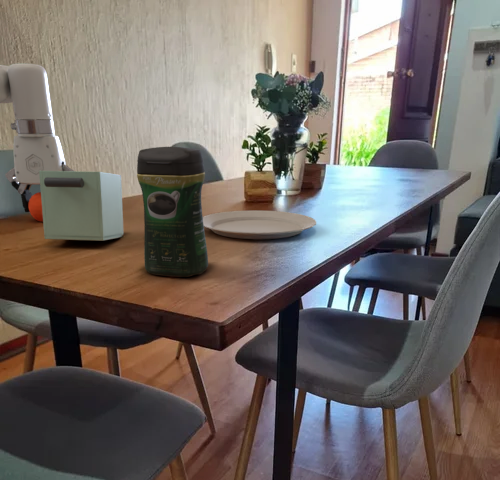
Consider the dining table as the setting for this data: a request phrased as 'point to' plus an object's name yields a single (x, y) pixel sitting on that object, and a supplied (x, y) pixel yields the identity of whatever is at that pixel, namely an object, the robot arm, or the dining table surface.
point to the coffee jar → (173, 210)
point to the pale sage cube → (81, 205)
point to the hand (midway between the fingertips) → (47, 211)
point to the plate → (257, 224)
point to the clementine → (36, 207)
